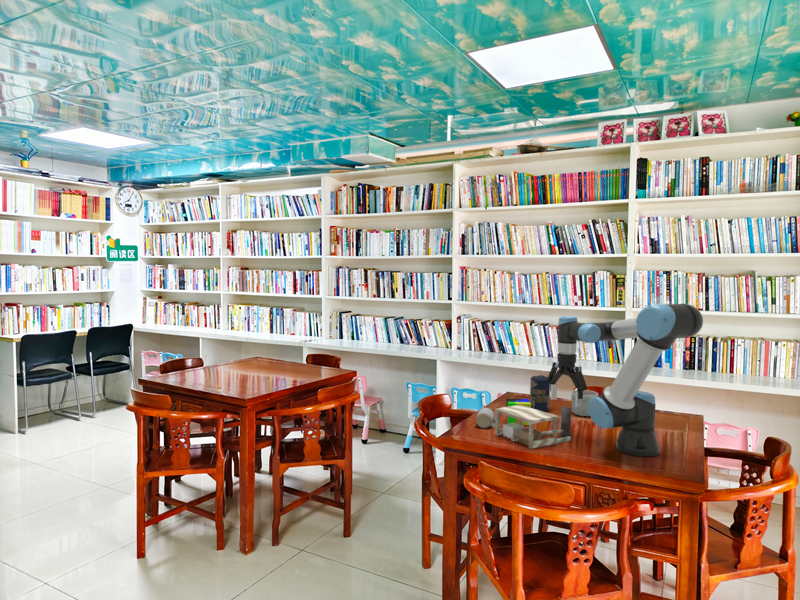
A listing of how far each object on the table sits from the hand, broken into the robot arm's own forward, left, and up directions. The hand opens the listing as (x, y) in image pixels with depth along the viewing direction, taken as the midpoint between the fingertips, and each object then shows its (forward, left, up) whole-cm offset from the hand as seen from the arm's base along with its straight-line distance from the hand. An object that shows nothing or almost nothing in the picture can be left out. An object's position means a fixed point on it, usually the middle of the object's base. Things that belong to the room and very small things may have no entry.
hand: (565, 403), depth 224 cm
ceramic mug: (+27, +20, -14) cm, 36 cm away
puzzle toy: (+26, +3, -14) cm, 30 cm away
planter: (+21, -35, -14) cm, 43 cm away
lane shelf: (+5, +14, -14) cm, 20 cm away
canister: (+38, -22, -14) cm, 46 cm away
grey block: (+10, +20, -14) cm, 26 cm away
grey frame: (0, +11, -14) cm, 18 cm away
